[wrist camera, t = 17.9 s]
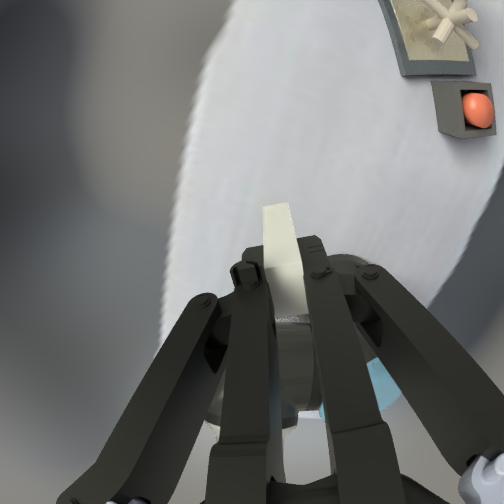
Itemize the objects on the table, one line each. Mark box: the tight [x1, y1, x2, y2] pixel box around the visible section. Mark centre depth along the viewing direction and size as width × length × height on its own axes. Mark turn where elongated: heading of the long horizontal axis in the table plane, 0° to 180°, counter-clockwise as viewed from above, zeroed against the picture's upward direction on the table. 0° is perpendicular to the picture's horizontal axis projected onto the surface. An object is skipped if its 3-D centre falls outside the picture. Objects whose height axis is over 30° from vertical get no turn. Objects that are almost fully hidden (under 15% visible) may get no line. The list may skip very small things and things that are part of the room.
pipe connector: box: [421, 0, 479, 50], centre depth 20 cm, size 10×10×10 cm
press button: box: [461, 92, 494, 128], centre depth 27 cm, size 5×5×3 cm
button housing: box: [431, 81, 496, 139], centre depth 29 cm, size 8×8×6 cm
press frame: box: [378, 0, 476, 76], centre depth 16 cm, size 19×14×22 cm
